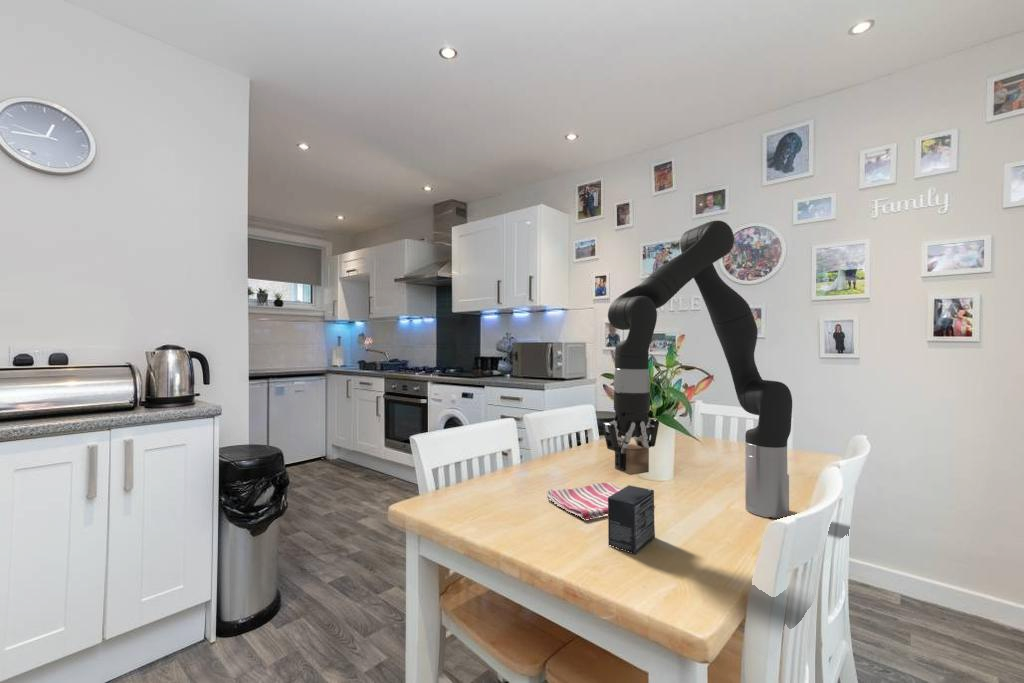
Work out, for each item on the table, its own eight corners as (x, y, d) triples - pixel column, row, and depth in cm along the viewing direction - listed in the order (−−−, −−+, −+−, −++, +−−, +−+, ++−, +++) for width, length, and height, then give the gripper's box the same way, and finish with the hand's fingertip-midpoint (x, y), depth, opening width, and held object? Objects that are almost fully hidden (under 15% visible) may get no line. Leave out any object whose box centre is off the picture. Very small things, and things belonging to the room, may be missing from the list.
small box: (627, 529, 101) (627, 483, 101) (655, 537, 97) (655, 489, 97) (606, 546, 92) (606, 496, 93) (635, 555, 88) (635, 503, 88)
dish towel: (544, 501, 120) (544, 489, 120) (610, 488, 131) (610, 476, 131) (583, 524, 105) (583, 510, 105) (654, 507, 116) (654, 494, 116)
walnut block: (632, 466, 98) (632, 443, 98) (648, 472, 93) (648, 448, 94) (614, 468, 96) (614, 445, 96) (630, 475, 91) (630, 451, 91)
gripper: (644, 386, 101) (644, 460, 101) (593, 389, 95) (593, 468, 95) (669, 389, 95) (669, 469, 94) (616, 392, 88) (616, 477, 88)
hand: (631, 468), depth 95 cm, fingers closed on walnut block, 5 cm apart
